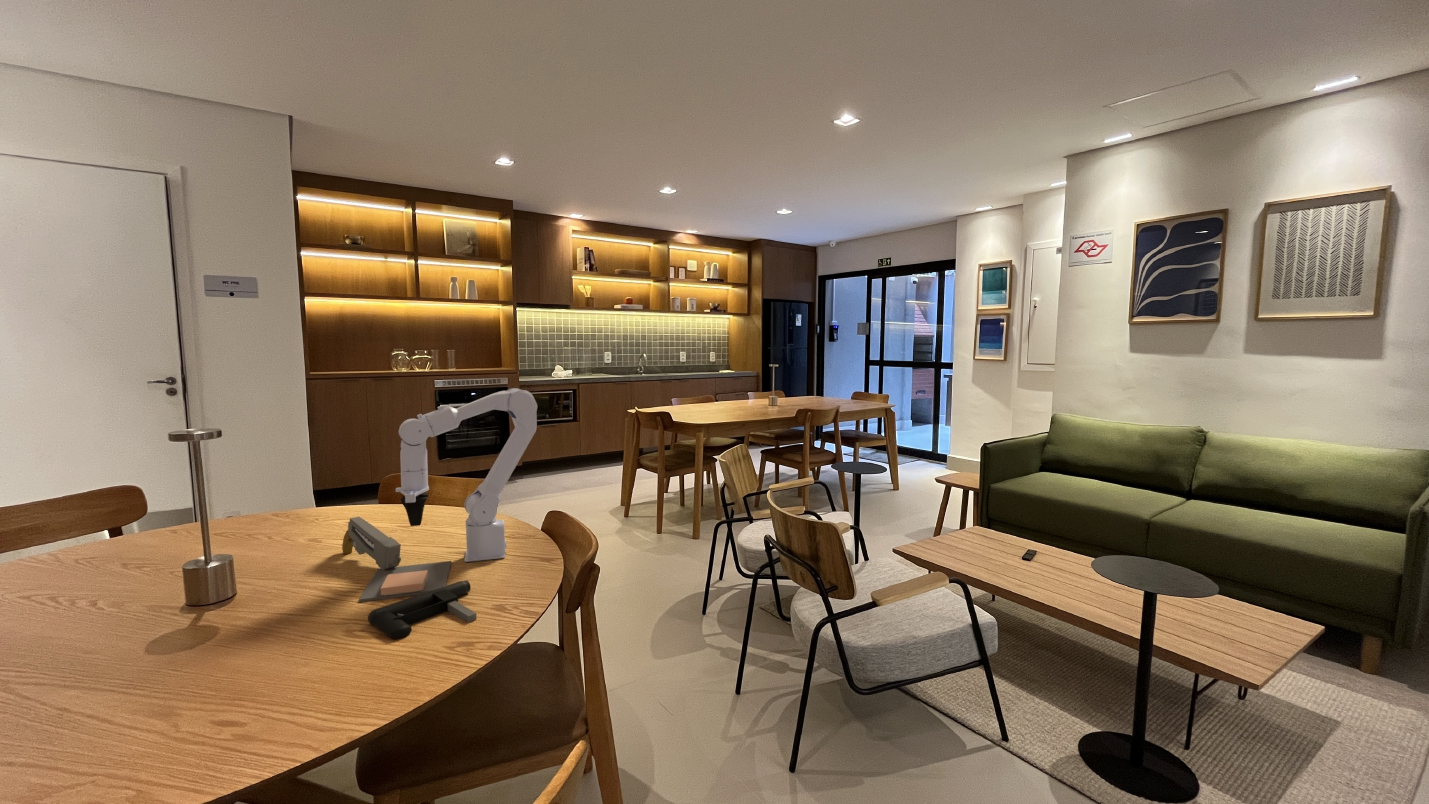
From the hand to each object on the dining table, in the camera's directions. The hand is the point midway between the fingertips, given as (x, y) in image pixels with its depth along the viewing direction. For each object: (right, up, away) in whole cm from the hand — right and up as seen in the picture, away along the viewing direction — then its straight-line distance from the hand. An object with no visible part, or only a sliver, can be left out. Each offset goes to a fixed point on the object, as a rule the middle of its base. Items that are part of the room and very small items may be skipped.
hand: (415, 525), depth 140 cm
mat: (+2, -11, -8) cm, 14 cm away
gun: (-13, -10, +4) cm, 17 cm away
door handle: (+17, -13, -25) cm, 33 cm away
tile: (+3, -10, -9) cm, 13 cm away
